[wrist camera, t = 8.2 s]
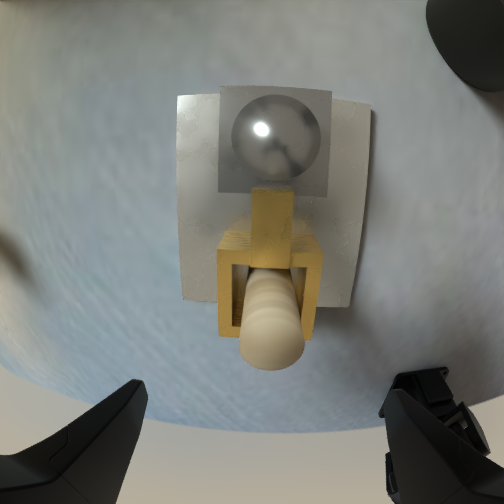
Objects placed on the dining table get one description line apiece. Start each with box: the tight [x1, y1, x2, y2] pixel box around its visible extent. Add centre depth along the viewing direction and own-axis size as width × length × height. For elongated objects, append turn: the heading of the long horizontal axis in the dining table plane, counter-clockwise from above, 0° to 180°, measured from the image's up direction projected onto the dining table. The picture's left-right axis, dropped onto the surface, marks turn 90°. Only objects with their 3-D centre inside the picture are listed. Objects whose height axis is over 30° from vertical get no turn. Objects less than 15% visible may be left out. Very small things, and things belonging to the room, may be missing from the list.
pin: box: [239, 265, 305, 371], centre depth 16 cm, size 3×3×8 cm
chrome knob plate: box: [177, 86, 371, 340], centre depth 16 cm, size 14×12×7 cm
